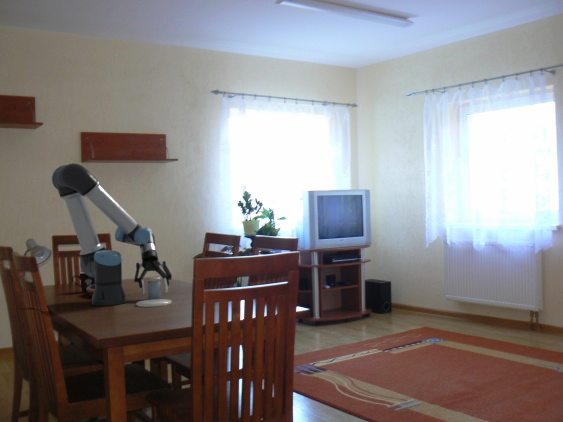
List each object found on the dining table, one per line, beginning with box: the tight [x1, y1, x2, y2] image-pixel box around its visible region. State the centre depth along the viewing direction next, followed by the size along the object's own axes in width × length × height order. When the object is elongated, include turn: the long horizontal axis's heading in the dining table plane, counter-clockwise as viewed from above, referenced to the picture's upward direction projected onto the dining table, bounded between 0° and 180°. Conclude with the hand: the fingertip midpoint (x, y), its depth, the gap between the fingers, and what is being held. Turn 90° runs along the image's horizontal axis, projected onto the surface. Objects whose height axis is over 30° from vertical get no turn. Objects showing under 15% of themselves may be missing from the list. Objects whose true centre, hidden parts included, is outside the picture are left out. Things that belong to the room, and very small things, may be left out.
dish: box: [86, 284, 95, 297], centre depth 302 cm, size 16×31×5 cm, turn 17°
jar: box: [146, 276, 162, 300], centre depth 279 cm, size 6×6×10 cm
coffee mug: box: [71, 271, 95, 293], centre depth 316 cm, size 12×9×10 cm
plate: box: [135, 298, 172, 308], centre depth 265 cm, size 15×15×1 cm
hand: (155, 291), depth 277 cm, fingers open, 10 cm apart
